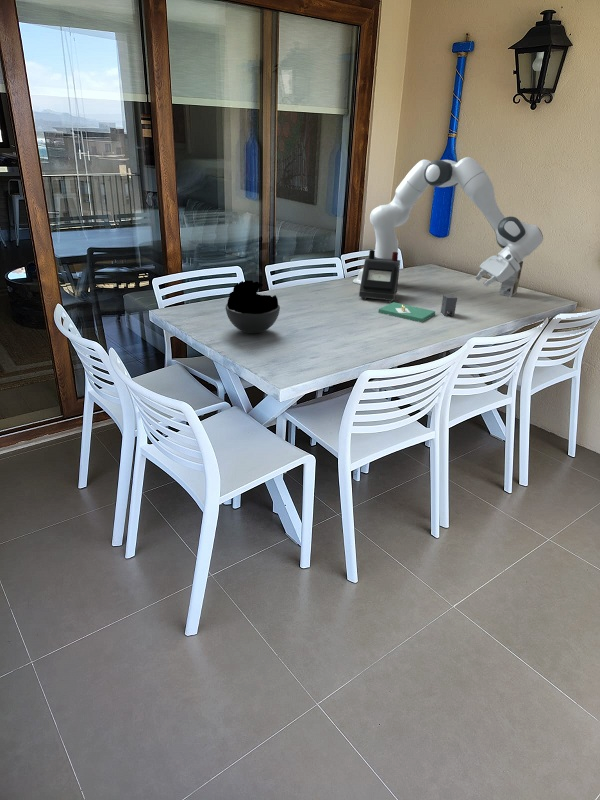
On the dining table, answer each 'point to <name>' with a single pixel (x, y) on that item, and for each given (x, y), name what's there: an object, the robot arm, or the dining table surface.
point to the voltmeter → (380, 277)
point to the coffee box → (511, 283)
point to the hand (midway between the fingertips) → (480, 282)
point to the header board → (407, 312)
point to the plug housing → (448, 305)
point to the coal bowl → (251, 308)
